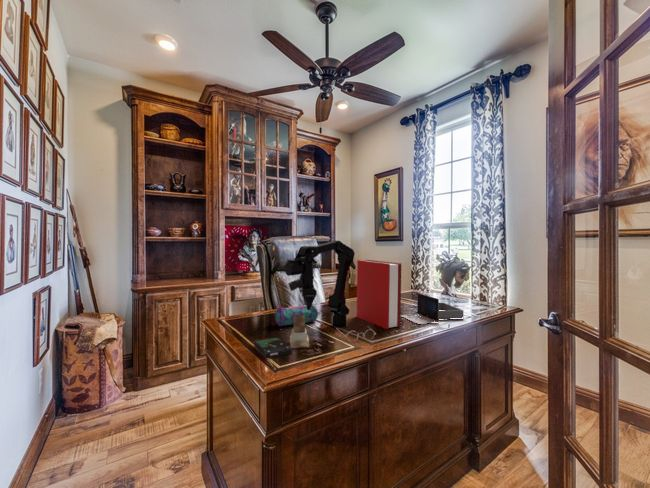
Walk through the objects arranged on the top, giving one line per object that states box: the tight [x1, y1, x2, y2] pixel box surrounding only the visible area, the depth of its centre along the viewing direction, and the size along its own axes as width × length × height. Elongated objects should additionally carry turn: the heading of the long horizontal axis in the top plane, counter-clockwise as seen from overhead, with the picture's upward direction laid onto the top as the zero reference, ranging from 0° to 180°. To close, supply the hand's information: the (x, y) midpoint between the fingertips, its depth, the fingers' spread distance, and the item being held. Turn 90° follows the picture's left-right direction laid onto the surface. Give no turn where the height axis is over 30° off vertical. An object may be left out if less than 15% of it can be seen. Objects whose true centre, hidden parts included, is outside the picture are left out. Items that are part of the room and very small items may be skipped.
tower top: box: [291, 328, 308, 341], centre depth 123 cm, size 6×6×3 cm
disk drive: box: [254, 336, 293, 359], centre depth 116 cm, size 10×3×15 cm
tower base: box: [289, 334, 310, 349], centre depth 123 cm, size 8×8×3 cm
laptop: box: [401, 292, 440, 325], centre depth 163 cm, size 18×12×13 cm
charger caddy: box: [416, 302, 464, 319], centre depth 173 cm, size 18×21×5 cm
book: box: [356, 259, 402, 330], centre depth 158 cm, size 27×8×32 cm, turn 30°
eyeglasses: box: [333, 323, 377, 342], centre depth 137 cm, size 16×19×5 cm
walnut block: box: [293, 315, 306, 333], centre depth 123 cm, size 4×4×6 cm
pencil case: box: [274, 304, 319, 327], centre depth 153 cm, size 21×9×10 cm, turn 124°
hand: (307, 307), depth 137 cm, fingers open, 9 cm apart
